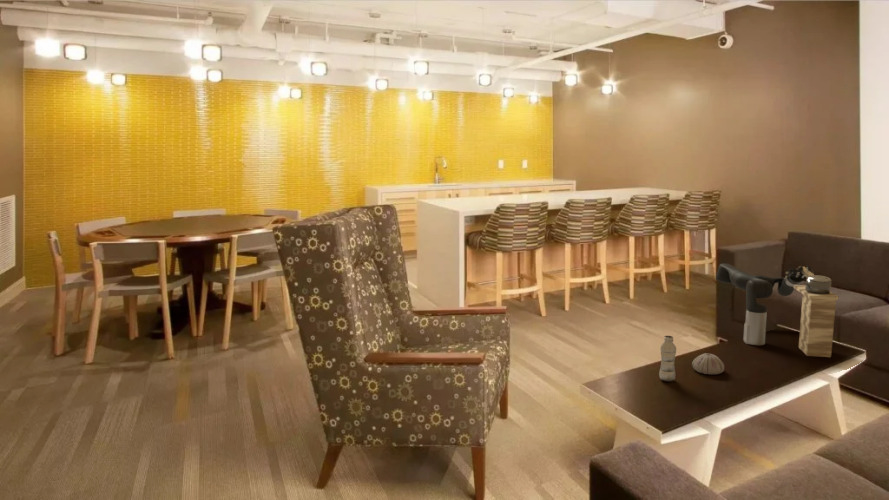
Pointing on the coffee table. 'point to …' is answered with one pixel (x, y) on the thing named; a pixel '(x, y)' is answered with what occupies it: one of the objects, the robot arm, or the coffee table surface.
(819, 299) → the stand
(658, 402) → the coffee table surface
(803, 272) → the saucepan
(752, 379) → the coffee table surface
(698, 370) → the sea urchin shell
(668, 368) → the plastic bottle
